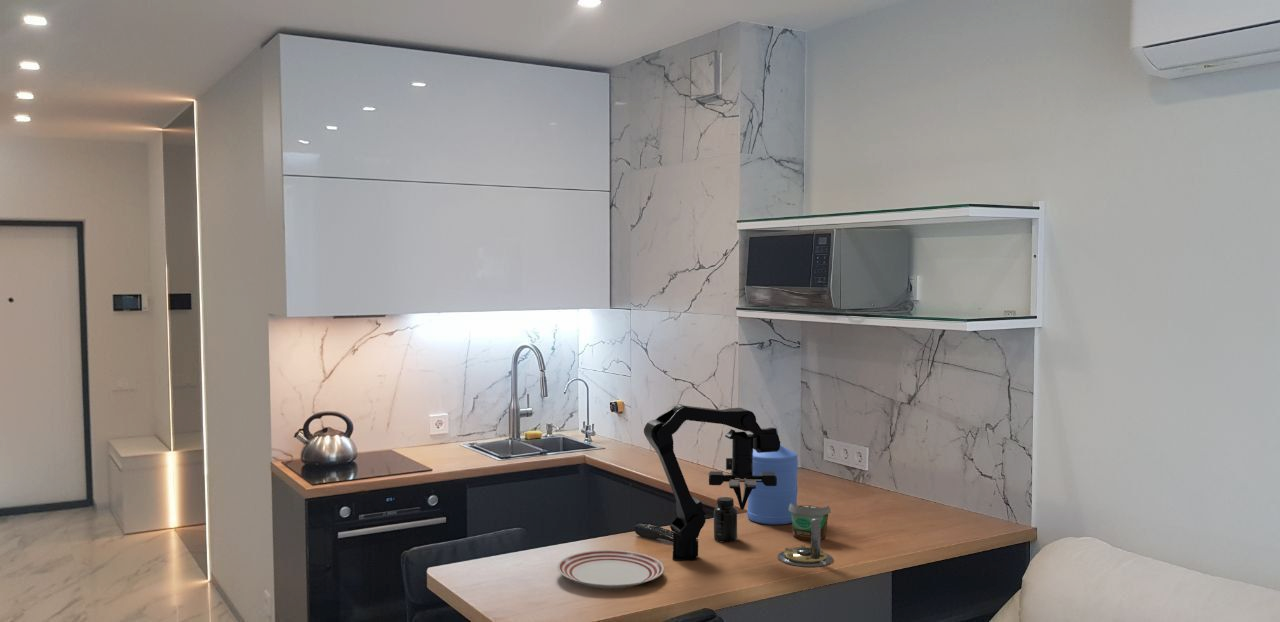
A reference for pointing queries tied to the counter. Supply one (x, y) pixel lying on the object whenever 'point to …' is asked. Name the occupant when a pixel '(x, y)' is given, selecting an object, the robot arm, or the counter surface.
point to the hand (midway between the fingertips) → (742, 509)
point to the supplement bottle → (725, 520)
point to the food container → (808, 521)
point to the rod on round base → (816, 551)
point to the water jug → (774, 487)
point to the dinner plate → (610, 568)
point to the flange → (805, 552)
